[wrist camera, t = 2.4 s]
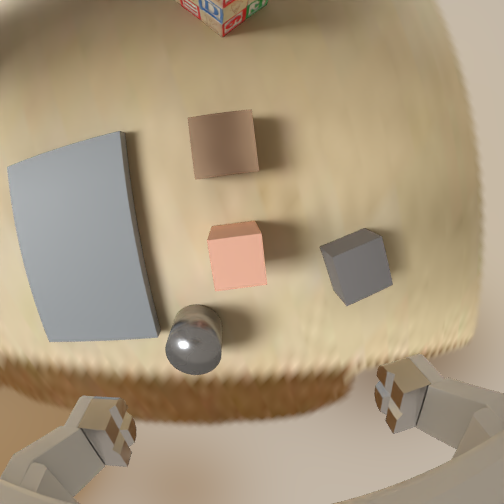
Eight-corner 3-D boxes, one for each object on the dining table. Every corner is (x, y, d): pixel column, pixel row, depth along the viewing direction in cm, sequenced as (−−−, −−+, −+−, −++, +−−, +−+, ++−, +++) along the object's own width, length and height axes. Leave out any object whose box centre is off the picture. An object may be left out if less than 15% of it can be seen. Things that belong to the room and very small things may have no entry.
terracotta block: (217, 267, 29) (215, 291, 24) (211, 226, 28) (207, 240, 22) (259, 262, 29) (267, 284, 24) (255, 220, 28) (261, 233, 23)
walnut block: (199, 178, 27) (195, 179, 23) (193, 125, 26) (187, 117, 22) (254, 171, 27) (259, 171, 24) (248, 117, 26) (251, 109, 22)
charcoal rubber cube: (333, 290, 31) (346, 306, 27) (319, 246, 30) (332, 257, 26) (375, 271, 31) (392, 284, 27) (363, 227, 29) (381, 236, 26)
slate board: (54, 335, 30) (49, 341, 29) (15, 166, 25) (7, 166, 23) (160, 330, 31) (157, 337, 29) (125, 132, 25) (119, 130, 24)
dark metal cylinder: (179, 348, 31) (172, 376, 26) (169, 307, 30) (159, 331, 25) (225, 344, 32) (225, 372, 27) (218, 301, 30) (216, 325, 25)
